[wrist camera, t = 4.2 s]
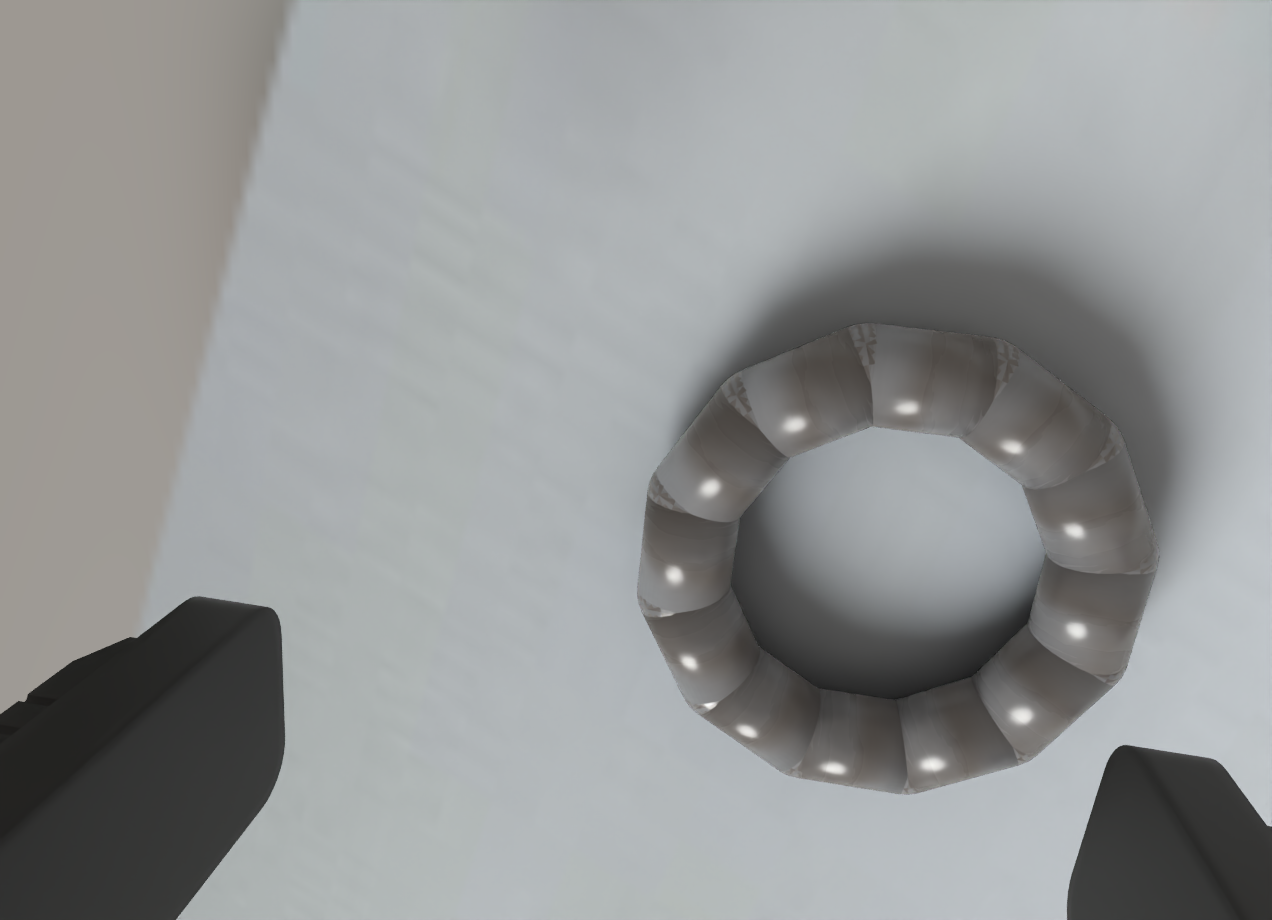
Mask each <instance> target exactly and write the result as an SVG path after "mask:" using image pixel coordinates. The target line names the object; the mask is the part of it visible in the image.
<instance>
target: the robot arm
mask: <svg viewBox="0 0 1272 920" xmlns="http://www.w3.org/2000/svg"><path fill="white" fill-rule="evenodd" d="M284 747H285V723H284V694H283V665H282V636H281V626H280V621H279V618H278V616H277V614H276V613H275V611H274V610H273V609H271V608H268V607H263V606H257V605H251V604H244V603H238V602H232V601H225V600H219V599H213V598H206V597H200V596H199V597H192V598H190V599H188V600H186V601H185V602H183V603H182V604H181V605H179V606H178V607H177V608H175V609H174V610H173V611H172V612H170V613H169V614H168V615H166V616H165V617H164V618H162V619H161V620H160V621H159V622H157V623H156V624H155V625H153V626H152V627H151V628H150V629H148V630H147V631H146V632H144V633H143V634H142V635H140V636H139V637H138V638H132V637H129V638H127V639H124V640H122V641H120V642H117V643H115V644H113V645H111V646H108V647H105V648H103V649H101V650H98V651H96V652H94V653H91V654H89V655H87V656H85V657H82V658H80V659H77V660H75V661H72V662H71V663H70V664H68V665H67V666H66V667H65V668H63V669H62V670H60V671H59V672H57V673H56V674H55V675H53V676H52V677H51V678H49V679H48V680H47V681H45V682H44V683H42V684H41V685H40V686H38V687H37V688H36V689H34V690H33V691H32V692H31V693H29V694H28V697H27V700H26V701H25V702H20V701H18V702H17V703H15V704H14V705H13V706H11V707H10V708H8V709H7V710H6V711H4V712H3V713H2V714H0V920H176V919H177V918H178V916H179V915H180V914H181V912H182V911H183V910H184V909H185V907H186V906H187V905H188V903H189V902H190V901H191V899H192V898H193V897H194V896H195V894H196V893H197V892H198V890H199V889H200V888H201V887H202V885H203V884H204V883H205V881H206V880H207V879H208V877H209V876H210V875H211V874H212V872H213V871H214V870H215V868H216V867H217V866H218V865H219V863H220V862H221V861H222V859H223V858H224V857H225V855H226V854H227V853H228V852H229V850H230V849H231V848H232V846H233V845H234V844H235V842H236V841H237V840H238V839H239V837H240V836H241V835H242V833H243V832H244V831H245V830H246V828H247V827H248V826H249V824H250V823H251V822H252V820H253V819H254V818H255V817H256V815H257V814H258V813H259V811H260V810H261V809H262V807H263V806H264V805H265V803H266V802H267V800H268V798H269V796H270V794H271V792H272V790H273V788H274V786H275V783H276V781H277V778H278V775H279V772H280V769H281V765H282V761H283V755H284ZM1067 920H1272V827H1270V826H1267V825H1266V824H1265V822H1264V821H1263V820H1262V818H1261V817H1260V816H1259V814H1258V813H1257V812H1256V810H1255V809H1254V807H1253V806H1252V805H1251V803H1250V802H1249V801H1248V799H1247V798H1246V796H1245V795H1244V794H1243V792H1242V791H1241V790H1240V788H1239V787H1238V786H1237V784H1236V783H1235V781H1234V780H1233V779H1232V777H1231V776H1230V775H1229V773H1228V772H1227V771H1226V769H1225V768H1224V767H1223V766H1222V765H1221V764H1220V763H1219V762H1217V761H1216V760H1213V759H1211V758H1205V757H1198V756H1192V755H1186V754H1179V753H1173V752H1167V751H1160V750H1154V749H1148V748H1141V747H1135V746H1129V745H1123V746H1120V747H1118V748H1117V749H1116V750H1115V751H1114V752H1113V753H1112V755H1111V756H1110V758H1109V760H1108V762H1107V765H1106V767H1105V770H1104V773H1103V777H1102V780H1101V783H1100V786H1099V789H1098V793H1097V796H1096V799H1095V802H1094V805H1093V809H1092V812H1091V815H1090V818H1089V821H1088V824H1087V828H1086V831H1085V834H1084V837H1083V840H1082V844H1081V847H1080V850H1079V853H1078V856H1077V860H1076V863H1075V866H1074V869H1073V872H1072V876H1071V880H1070V884H1069V890H1068V900H1067Z"/></svg>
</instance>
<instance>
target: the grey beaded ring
mask: <svg viewBox="0 0 1272 920" xmlns="http://www.w3.org/2000/svg"><path fill="white" fill-rule="evenodd" d="M869 427H880V428H888V429H896V430H903V431H911V432H919V433H927V434H935V435H943V436H951V437H959V438H960V439H961V440H963V441H964V442H965V443H967V444H968V445H969V446H971V447H972V448H973V449H975V450H976V451H977V452H979V453H980V454H981V455H983V456H984V457H985V458H987V459H988V460H989V461H991V462H992V463H993V464H995V465H996V466H997V467H999V468H1000V469H1001V470H1002V471H1004V472H1005V473H1006V474H1008V475H1009V476H1010V477H1012V478H1013V479H1014V480H1016V481H1017V482H1018V483H1020V484H1021V485H1022V487H1023V490H1024V492H1025V495H1026V498H1027V501H1028V504H1029V506H1030V509H1031V512H1032V515H1033V518H1034V520H1035V523H1036V526H1037V529H1038V531H1039V534H1040V537H1041V540H1042V543H1043V545H1044V548H1045V551H1046V555H1045V559H1044V563H1043V567H1042V570H1041V574H1040V578H1039V582H1038V586H1037V589H1036V593H1035V597H1034V601H1033V605H1032V609H1031V612H1030V616H1029V620H1028V623H1027V624H1026V625H1025V626H1024V627H1023V628H1022V629H1021V630H1019V631H1018V632H1017V633H1016V634H1015V635H1014V636H1013V637H1012V638H1011V639H1010V640H1009V641H1008V642H1007V643H1006V644H1005V645H1004V646H1003V647H1002V648H1001V649H1000V650H999V651H998V652H997V653H996V654H995V655H994V656H993V657H992V658H991V659H990V660H989V661H988V662H987V663H986V664H984V665H983V666H982V667H981V668H980V669H979V670H978V671H977V672H976V673H975V674H974V675H973V676H972V677H969V678H966V679H962V680H959V681H956V682H952V683H949V684H946V685H942V686H939V687H936V688H933V689H929V690H926V691H923V692H919V693H916V694H913V695H910V696H906V697H903V698H900V699H896V700H892V699H886V698H879V697H873V696H866V695H860V694H853V693H847V692H840V691H834V690H827V689H821V688H817V687H815V686H814V685H812V684H811V683H810V682H808V681H807V680H805V679H804V678H803V677H801V676H800V675H798V674H797V673H796V672H794V671H793V670H791V669H790V668H789V667H787V666H786V665H784V664H783V663H782V662H780V661H779V660H777V659H776V658H775V657H773V656H772V655H770V654H769V653H768V652H766V651H765V650H763V649H762V648H761V647H759V646H758V644H757V642H756V640H755V637H754V635H753V633H752V631H751V629H750V626H749V624H748V622H747V620H746V618H745V616H744V613H743V611H742V609H741V607H740V605H739V602H738V600H737V598H736V596H735V594H734V591H733V589H732V587H731V579H732V572H733V565H734V558H735V551H736V544H737V537H738V530H739V523H740V517H741V516H742V515H743V513H744V512H745V511H746V510H747V509H748V507H749V506H750V505H751V504H752V503H753V501H754V500H755V499H756V498H757V497H758V495H759V494H760V493H761V492H762V491H763V489H764V488H765V487H766V486H767V485H768V484H769V482H770V481H771V480H772V479H773V478H774V476H775V475H776V474H777V473H778V472H779V470H780V469H781V468H782V467H783V466H784V464H785V463H786V462H787V461H788V460H789V459H790V457H793V456H795V455H798V454H801V453H803V452H806V451H809V450H811V449H814V448H817V447H819V446H822V445H824V444H827V443H830V442H832V441H835V440H838V439H840V438H843V437H846V436H848V435H851V434H853V433H856V432H859V431H861V430H864V429H867V428H869ZM1158 562H1159V548H1158V544H1157V539H1156V536H1155V533H1154V530H1153V527H1152V524H1151V521H1150V518H1149V515H1148V512H1147V509H1146V506H1145V503H1144V500H1143V496H1142V493H1141V490H1140V487H1139V484H1138V481H1137V478H1136V475H1135V472H1134V469H1133V466H1132V463H1131V460H1130V457H1129V453H1128V450H1127V447H1126V444H1125V441H1124V439H1123V436H1122V434H1121V432H1120V431H1119V429H1118V428H1117V426H1116V425H1115V424H1114V423H1113V422H1112V420H1110V419H1109V418H1108V417H1107V416H1106V415H1105V414H1103V413H1102V412H1101V411H1099V410H1098V409H1097V408H1095V407H1094V406H1093V405H1092V404H1090V403H1089V402H1088V401H1086V400H1085V399H1084V398H1082V397H1081V396H1080V395H1078V394H1077V393H1076V392H1075V391H1073V390H1072V389H1071V388H1069V387H1068V386H1067V385H1065V384H1064V383H1063V382H1062V381H1060V380H1059V379H1058V378H1056V377H1055V376H1054V375H1052V374H1051V373H1050V372H1049V371H1047V370H1046V369H1045V368H1043V367H1042V366H1041V365H1039V364H1038V363H1037V362H1036V361H1034V360H1033V359H1032V358H1030V357H1029V356H1028V355H1026V354H1025V353H1024V352H1022V351H1021V350H1020V349H1019V348H1017V347H1016V346H1014V345H1013V344H1011V343H1009V342H1006V341H1004V340H1001V339H998V338H993V337H987V336H979V335H970V334H962V333H953V332H944V331H936V330H927V329H919V328H910V327H901V326H893V325H884V324H876V323H861V324H855V325H852V326H849V327H846V328H844V329H841V330H839V331H836V332H834V333H831V334H829V335H827V336H824V337H822V338H819V339H817V340H814V341H812V342H809V343H807V344H805V345H802V346H800V347H797V348H795V349H792V350H790V351H787V352H785V353H783V354H780V355H778V356H775V357H773V358H770V359H768V360H765V361H763V362H761V363H758V364H756V365H753V366H751V367H748V368H746V369H743V370H741V371H739V372H737V373H735V374H733V375H732V376H731V377H729V378H728V379H727V380H726V381H725V382H724V383H723V384H722V385H721V387H720V388H719V389H718V390H717V392H716V393H715V394H714V396H713V397H712V398H711V399H710V401H709V402H708V403H707V405H706V406H705V407H704V408H703V410H702V411H701V412H700V413H699V415H698V416H697V417H696V419H695V420H694V421H693V422H692V424H691V425H690V426H689V428H688V429H687V430H686V431H685V433H684V434H683V435H682V437H681V438H680V439H679V440H678V442H677V443H676V444H675V446H674V447H673V448H672V449H671V451H670V452H669V453H668V454H667V456H666V457H665V458H664V460H663V461H662V462H661V463H660V465H659V466H658V467H657V469H656V471H655V472H654V473H653V475H652V477H651V480H650V482H649V487H648V492H647V502H646V511H645V520H644V530H643V539H642V549H641V558H640V567H639V577H638V586H637V588H638V589H637V597H638V602H639V605H640V608H641V611H642V613H643V615H644V617H645V619H646V621H647V623H648V625H649V627H650V629H651V631H652V634H653V636H654V638H655V640H656V642H657V644H658V646H659V648H660V650H661V652H662V654H663V656H664V658H665V660H666V662H667V664H668V666H669V669H670V671H671V673H672V675H673V677H674V679H675V681H676V683H677V685H678V687H679V689H680V691H681V693H682V695H683V697H684V699H685V701H686V702H687V704H688V705H689V706H690V707H691V708H692V709H693V710H694V711H695V712H696V713H698V714H699V715H700V716H702V717H703V718H705V719H706V720H707V721H709V722H710V723H712V724H713V725H715V726H716V727H717V728H719V729H720V730H722V731H723V732H725V733H726V734H727V735H729V736H730V737H732V738H733V739H734V740H736V741H737V742H739V743H740V744H742V745H743V746H744V747H746V748H747V749H749V750H750V751H752V752H753V753H754V754H756V755H757V756H759V757H760V758H762V759H763V760H764V761H766V762H767V763H769V764H770V765H772V766H773V767H774V768H776V769H777V770H779V771H780V772H782V773H784V774H786V775H789V776H792V777H796V778H802V779H808V780H814V781H820V782H826V783H832V784H838V785H845V786H851V787H857V788H863V789H869V790H875V791H881V792H888V793H894V794H904V795H909V794H916V793H920V792H924V791H928V790H931V789H935V788H938V787H942V786H946V785H949V784H953V783H956V782H960V781H964V780H967V779H971V778H975V777H978V776H982V775H985V774H989V773H993V772H996V771H1000V770H1003V769H1007V768H1011V767H1014V766H1018V765H1021V764H1023V763H1026V762H1028V761H1030V760H1031V759H1033V758H1034V757H1036V756H1037V755H1038V754H1039V753H1040V752H1041V751H1042V750H1044V749H1045V748H1046V747H1047V746H1048V745H1049V744H1050V743H1051V742H1052V741H1054V740H1055V739H1056V738H1057V737H1058V736H1059V735H1060V734H1061V733H1062V732H1064V731H1065V730H1066V729H1067V728H1068V727H1069V726H1070V725H1071V724H1072V723H1073V722H1075V721H1076V720H1077V719H1078V718H1079V717H1080V716H1081V715H1082V714H1083V713H1085V712H1086V711H1087V710H1088V709H1089V708H1090V707H1091V706H1092V705H1093V704H1095V703H1096V702H1097V701H1098V700H1099V699H1100V698H1101V697H1102V696H1103V695H1105V694H1106V693H1107V692H1108V691H1109V690H1110V689H1111V688H1112V687H1113V686H1115V685H1116V684H1117V683H1118V681H1119V680H1120V679H1121V678H1122V676H1123V674H1124V672H1125V670H1126V668H1127V665H1128V662H1129V658H1130V655H1131V652H1132V648H1133V645H1134V642H1135V639H1136V635H1137V632H1138V629H1139V626H1140V622H1141V619H1142V616H1143V612H1144V609H1145V606H1146V603H1147V599H1148V596H1149V593H1150V590H1151V586H1152V583H1153V580H1154V576H1155V573H1156V570H1157V567H1158Z"/></svg>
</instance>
